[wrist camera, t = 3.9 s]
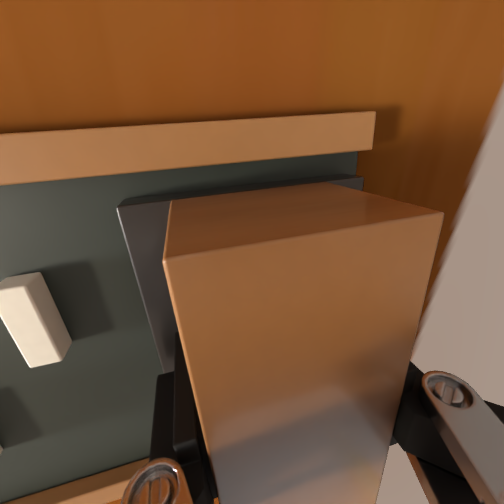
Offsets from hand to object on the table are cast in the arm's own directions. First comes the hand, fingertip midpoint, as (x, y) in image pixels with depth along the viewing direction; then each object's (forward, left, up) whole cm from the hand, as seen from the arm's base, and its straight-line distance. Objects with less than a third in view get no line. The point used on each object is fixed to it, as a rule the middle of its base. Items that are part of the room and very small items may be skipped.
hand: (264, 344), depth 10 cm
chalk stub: (-3, -8, -1) cm, 8 cm away
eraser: (0, 0, -1) cm, 1 cm away
